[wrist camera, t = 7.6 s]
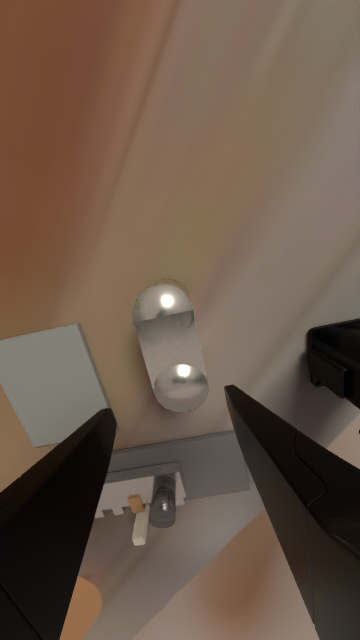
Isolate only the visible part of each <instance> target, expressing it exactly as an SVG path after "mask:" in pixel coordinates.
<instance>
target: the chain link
mask: <svg viewBox="0 0 360 640" xmlns="http://www.w3.org/2000/svg"><path fill="white" fill-rule="evenodd" d="M132 317H133V323H134V326H135V329H136V333H137V336H138V340H139V343H140V347H141V350H142V353H143V357H144V360H145V364H146V367H147V370H148V374H149V377H150V381H151V384H152V388H153V391H154V394H155V397H156V399H157V401H158V402H159V403H160V404H161V405H162V406H163V407H165V408H166V409H169V410H171V411H175V412H187V411H191V410H194V409H196V408H197V407H199V406H200V405H201V404H202V403H203V402H204V401H205V399H206V397H207V395H208V390H209V387H208V381H207V376H206V371H205V366H204V361H203V356H202V351H201V346H200V342H199V337H198V332H197V327H196V322H195V317H194V312H193V308H192V305H191V301H190V298H189V294H188V292H187V290H186V288H185V287H184V286H183V285H182V284H181V283H180V282H178V281H176V280H172V279H163V280H160V281H158V282H156V283H155V284H154V285H152V286H151V287H149V288H148V289H147V290H145V291H144V292H143V293H141V295H140V296H139V297H138V298H137V300H136V301H135V303H134V306H133V311H132Z"/></svg>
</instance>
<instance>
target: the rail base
mask: <svg viewBox="0 0 360 640" xmlns="http://www.w3.org/2000/svg"><path fill="white" fill-rule="evenodd" d="M173 462H179V463H180V467H181V470H182V474H183V477H184V481H185V484H186V497H185V500H188V499H194V498H201V497H207V496H214V495H220V494H227V493H233V492H240V491H246V490H249V484H248V478H247V472H246V466H245V460H244V456H243V453H242V451H241V448H240V446H239V443H238V440H237V437H236V434H235V430H232V431H226V432H220V433H215V434H209V435H203V436H197V437H192V438H186V439H180V440H174V441H169V442H163V443H157V444H151V445H146V446H140V447H134V448H128V449H123V450H117V451H112V455H111V460H110V465H109V469H108V472H107V473H113V472H119V471H125V470H131V469H137V468H143V467H149V466H155V465H161V464H167V463H173ZM149 505H151V503H145V511H144V512H139V513H136V519H135V524H134V530H133V536H132V540H133V543H134V545H135V546H137V545H144V544H145V542H146V534H147V526H148V518H149V510H150V506H149ZM130 508H131V507H130V506H126V509H130ZM111 511H113V510H112V509H107V511H106V512H111Z"/></svg>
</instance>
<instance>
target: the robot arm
mask: <svg viewBox="0 0 360 640" xmlns="http://www.w3.org/2000/svg"><path fill="white" fill-rule="evenodd" d="M316 331H317V333H316V334H315V335H314V333H315V332H316ZM309 347H310V350H309V372H310V373H311V383H312V384H313V385H314V386H315V387H321V386H326V387H328V388H329V389H330V390H331V391H332V392H334V393H335V394H336V395H337V396H339V397H340V398H342V399H343V398H346V399H347V400H349V401H350V402H351V403H352V404H354V405H355V406H356V407H357V408H359V409H360V318H359V319H354V320H349V321H344V322H339V323H334V324H329V325H324V326H319V327H314V328H312V329H310V331H309ZM317 381H318V382H317ZM224 390H225V396H226V401H227V406H228V410H229V413H230V417H231V420H232V423H233V427H234V430H235V434H236V437H237V440H238V443H239V446H240V448H241V451H242V453H243V456H244V458H245V460H246V463H247V465H248V468H249V470H250V472H251V475H252V477H253V480H254V482H255V484H256V487H257V489H258V492H259V494H260V497H261V499H262V501H263V504H264V506H265V509H266V511H267V513H268V515H269V518H270V520H271V523H272V525H273V528H274V530H275V533H276V535H277V537H278V540H279V542H280V545H281V547H282V549H283V552H284V554H285V557H286V559H287V562H288V564H289V566H290V569H291V571H292V573H293V576H294V578H295V581H296V583H297V586H298V588H299V590H300V593H301V595H302V598H303V600H304V602H305V605H306V607H307V610H308V612H309V614H310V617H311V619H312V622H313V624H314V625H315V629H316V632H317V634H318V636H319V639H320V640H360V469H358V468H356V467H355V466H353V465H352V464H350V463H348V462H346V461H345V460H343V459H341V458H340V457H338V456H337V455H335V454H333V453H332V452H330V451H328V450H327V449H325V448H324V447H322V446H321V445H319V444H318V443H316V442H315V441H313V440H312V439H310V438H309V437H307V436H306V435H304V434H303V433H302V432H300V431H297V429H296V428H294V427H293V426H291V425H290V424H289V423H287V422H286V421H284V420H283V419H282V418H280V417H279V416H277V415H276V414H274V413H273V412H272V411H270V410H269V409H267V408H266V407H264V406H263V405H262V404H260V403H259V402H257V401H256V400H255V399H253V398H252V397H250V396H249V395H247V394H246V393H245V392H243V391H242V390H240V389H239V388H238V387H236V386H235V385H228V386H225V387H224ZM116 429H117V423H116V420H115V417H114V414H113V412H112V409H111V408H105V409H101V410H99V411H98V412H97V413H96V414H95V415H93V416H92V417H91V418H90V419H89V420H87V421H86V422H85V423H84V424H83V425H81V426H80V427H79V428H78V429H77V430H75V431H74V432H73V433H72V434H71V435H69V436H68V437H67V438H66V439H65V440H63V441H62V442H61V443H60V444H59V445H57V446H56V447H55V448H54V449H53V450H51V451H50V452H49V453H48V454H47V455H45V456H44V457H43V458H42V459H41V460H39V461H38V462H37V463H36V464H34V465H33V466H32V467H31V468H30V469H28V470H27V471H26V472H25V473H24V474H22V475H21V477H20V478H18V479H16V480H15V481H14V482H13V483H12V484H10V485H9V486H8V487H7V488H6V489H4V490H3V491H2V492H1V493H0V640H59V639H60V636H61V632H62V629H63V625H64V621H65V618H66V615H67V611H68V608H69V604H70V601H71V597H72V594H73V590H74V587H75V583H76V580H77V576H78V573H79V570H80V566H81V563H82V559H83V556H84V552H85V549H86V545H87V542H88V538H89V535H90V531H91V528H92V524H93V521H94V517H95V514H96V510H97V507H98V503H99V500H100V497H101V493H102V490H103V486H104V483H105V479H106V476H107V472H108V469H109V465H110V460H111V455H112V450H113V445H114V439H115V434H116ZM359 434H360V430H359Z"/></svg>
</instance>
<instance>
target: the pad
mask: <svg viewBox="0 0 360 640" xmlns="http://www.w3.org/2000/svg"><path fill="white" fill-rule="evenodd" d="M0 384H1V386H2V388H3V390H4V391H5V393H6V395H7V397H8V399H9V401H10V403H11V405H12V407H13V408H14V410H15V412H16V414H17V416H18V418H19V420H20V422H21V424H22V425H23V427H24V429H25V431H26V433H27V435H28V437H29V439H30V441H31V442H32V444H33V446H34V447H39V446H44V445H50V444H55V443H61V442H62V441H63V440H65V439H66V438H67V437H68V436H69V435H71V434H72V433H73V432H74V431H75V430H77V429H78V428H79V427H80V426H81V425H83V424H84V423H85V422H86V421H87V420H89V419H90V418H91V417H92V416H93V415H95V414H96V413H97V412H98V411H99V410H101V409H105V408H111V407H110V405H109V402H108V399H107V397H106V394H105V391H104V389H103V386H102V383H101V380H100V378H99V375H98V372H97V370H96V367H95V364H94V362H93V359H92V356H91V353H90V351H89V348H88V345H87V343H86V340H85V337H84V335H83V332H82V329H81V327H80V324H79V323H77V324H72V325H67V326H63V327H58V328H53V329H49V330H44V331H39V332H35V333H30V334H25V335H21V336H16V337H12V338H7V339H2V340H0ZM117 431H118V426H117V429H116V433H117Z"/></svg>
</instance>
